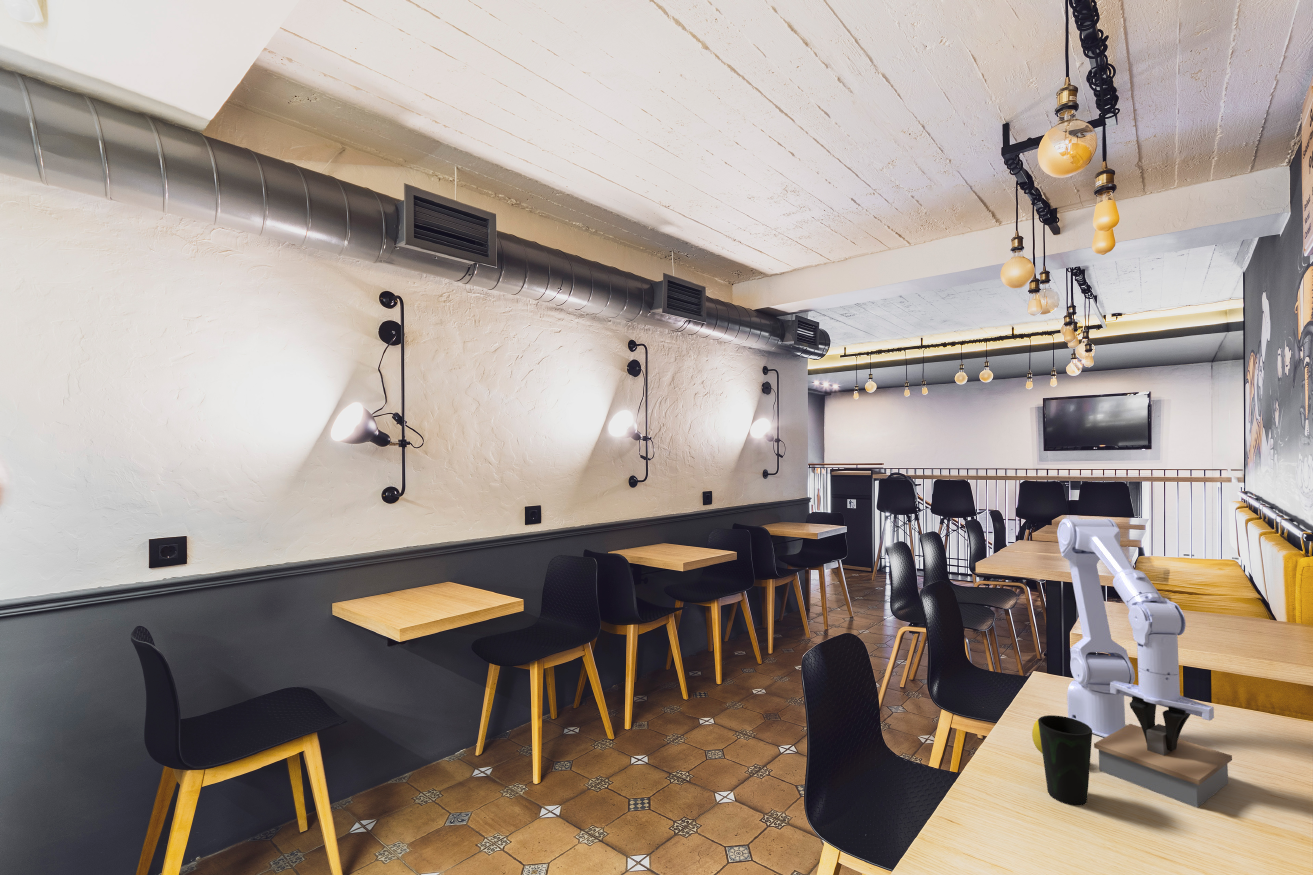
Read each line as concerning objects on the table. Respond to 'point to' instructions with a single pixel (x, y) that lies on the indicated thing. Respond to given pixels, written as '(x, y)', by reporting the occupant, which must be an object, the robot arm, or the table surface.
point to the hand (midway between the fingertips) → (1161, 745)
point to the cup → (1066, 758)
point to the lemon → (1036, 736)
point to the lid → (1164, 753)
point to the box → (1163, 779)
